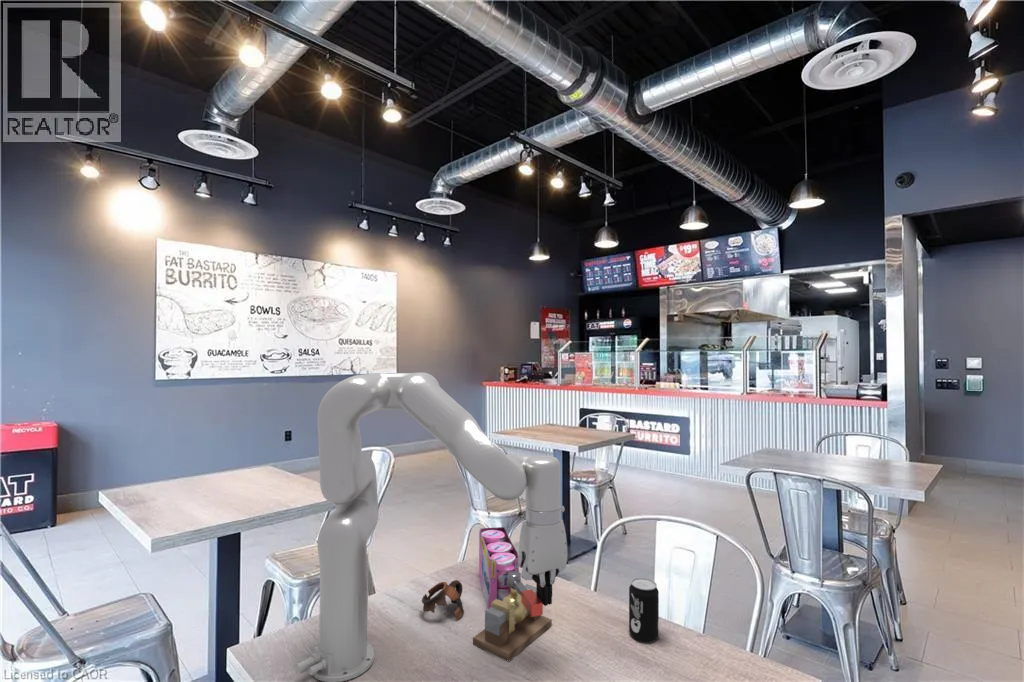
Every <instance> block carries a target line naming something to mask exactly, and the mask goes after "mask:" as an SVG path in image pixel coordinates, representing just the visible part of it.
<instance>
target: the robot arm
mask: <svg viewBox="0 0 1024 682" xmlns="http://www.w3.org/2000/svg"><path fill="white" fill-rule="evenodd" d="M386 410H387V411H388V410H389V411H391V410H393V411H394V410H395V411H396V410H397V411H398V410H399V411H400V410H404V411H405V412H406V413H407V414H408V415H409V416H411V417H412V419H414V420H415V421H416V422H417V423H419V424H420V425H421V426H422V427H423V428H424V429H425V430H426V431H428V433H430V434H431V435H432V436H433V437H434V438H435V439H436V440H437V441H439V442H440V443H441V444H442V445H443V446H444V447H445V448H446V449H447V450H448V452H449V454H450V455H452V457H454V458H455V459H456V460H457V461H458V463H460V465H461V466H462V468H464V469H465V470H466V471H467V472H468V474H470V475H471V477H472V478H474V480H476V481H477V482H478V483H479V484H480V485H481V486H483V488H485V489H486V490H487V491H488V492H490V493H491V494H492V495H493V496H494V497H495V498H498V499H500V500H502V501H506V502H507V501H509V502H510V501H513V500H517V499H518V498H520V497H521V496H522V495H523V494H524V492H525V521H523V522H522V524H521V528H520V533H519V541H518V543H519V544H518V563H519V568H521V569H522V571H521V579H523V580H525V581H533V582H534V583H535V584H536V586H535V587H536V588H537V596H538V598H539V599H540V600H541V601H542V603H543V606H544V607H547V606H548V605H552V604H553V598H552V597H553V584H555V582H556V577H557V576H558V574H559V573H560V572H562V571H564V570H565V569H566V568H567V565H566V564H568V563H567V562H568V541H567V540H568V539H567V534H566V527H565V523H564V520H563V518H562V513H564V512H565V506H564V505H561V503H562V496H561V495H562V493H561V492H562V489H561V487H562V486H561V463H560V460H559V459H558V457H555V456H553V455H544V454H541V455H533V456H528V455H518V454H510V453H507V454H505V453H503V452H502V451H501V450H500V449H499V448H498V447H497V446H496V445H495V444H494V443H493V441H491V440H490V438H488V436H487V435H486V433H484V432H483V429H482V428H481V427H480V425H479V423H478V422H477V420H476V419H475V418H474V416H473V415H472V414H471V413H470V412H468V411H467V410H466V408H464V407H463V406H462V405H461V404H459V402H457V401H456V400H455V399H454V398H453V397H452V396H450V395H449V394H448V393H447V392H446V391H445V390H444V389H443V388H442V387H441V386H440V383H439V381H438V380H437V379H436V377H434V376H433V375H432V374H430V373H427V372H422V371H421V372H407V373H406V372H405V373H404V372H403V373H401V372H399V373H394V372H392V373H391V372H390V373H389V372H388V373H387V372H386V373H384V372H382V373H381V372H379V373H378V372H376V373H365V374H364V373H363V374H356V375H352V376H350V377H347V378H345V379H343V380H341V381H340V382H338V383H336V384H334V386H332V387H331V388H330V389H329V390H328V391H327V392H326V393H325V395H324V396H323V397H322V399H321V401H320V404H319V406H318V411H317V419H316V420H317V433H318V435H317V436H318V462H319V464H318V465H319V485H320V490H321V494H322V496H323V497H324V498H325V501H327V502H328V503H329V504H333V505H335V510H334V511H333V512H332V513H331V514H330V515H329V516H328V517H327V518H326V520H324V522H323V523H322V526H321V527H320V529H319V532H318V536H317V544H316V545H317V554H318V562H319V563H318V564H319V618H318V620H319V621H318V622H319V625H318V644H317V645H316V646H314V647H313V653H312V654H310V655H309V657H308V658H306V659H304V660H302V661H300V662H298V663H296V664H295V665H294V669H295V673H296V674H297V675H302V674H303V673H305V672H306V671H307V672H308V674H309V675H310V676H312V677H314V678H315V679H316V680H318V681H320V682H345V681H349V680H352V679H355V678H357V677H359V676H360V675H362V674H363V673H365V672H366V671H367V670H369V668H370V667H371V666H372V665H373V663H374V660H375V649H374V648H373V646H372V645H371V644H369V643H368V616H369V615H368V611H369V610H368V608H369V607H368V605H369V603H368V602H369V564H368V554H367V547H368V546H367V545H368V541H369V539H370V538H371V536H372V534H373V533H374V531H375V529H376V527H377V525H378V522H379V498H378V497H379V496H378V482H377V481H378V480H377V470H376V465H375V462H374V461H373V459H372V458H371V456H370V455H369V454H367V452H364V451H362V434H361V429H360V426H359V425H360V420H361V418H362V417H364V416H367V415H369V414H371V413H374V412H375V411H386Z"/></svg>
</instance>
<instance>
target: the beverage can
mask: <svg viewBox="0 0 1024 682" xmlns="http://www.w3.org/2000/svg"><path fill="white" fill-rule="evenodd" d="M628 590H629V591H628V594H629V595H628V632H629V634H630V635H631V636H632V638H633V639H634V640H636V641H638V642H640V643H645V644H646V643H647V644H649V643H653V642H656V640H657V638H659V635H660V633H659V632H660V631H659V625H660V624H659V622H660V620H659V619H660V618H659V615H660V613H659V608H660V607H659V606H660V605H659V601H660V600H659V597H660V596H659V589H658V586H657V583H656V581H655V580H653V579H650V578H647V577H635V578H632V579H631V581H630V584H629V588H628Z"/></svg>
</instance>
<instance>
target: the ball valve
mask: <svg viewBox="0 0 1024 682" xmlns="http://www.w3.org/2000/svg"><path fill="white" fill-rule="evenodd" d="M524 586H525V587H526V588H527V590H533V592H534V593H535V594H536V595H537V588H536V586H533V585H529V584H528V583H526V584H524ZM526 616H528V617H532V616H531V615H530V614H529V612H528V611H527V610H526V608H525V607H524V605H523V604H522V603H521V595H520V594H519V593H518V591H517V590H516V589H513V588H511V593H509V594H507V595H506V596H505V597H504V598H503V600H498V599H496V600H494V601H492V602H491V608H489V609H488V608H487V610H484V629H485V630H487V631H489V632H491V633H494V634H496V635H498V636H500V626H501V625H502V624H504V623H505V622H506V621H508V634H510V633H511V632H512V631H514V630H515V624H518V623H520V622H522V621H523V620H524V619H525V617H526Z"/></svg>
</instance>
